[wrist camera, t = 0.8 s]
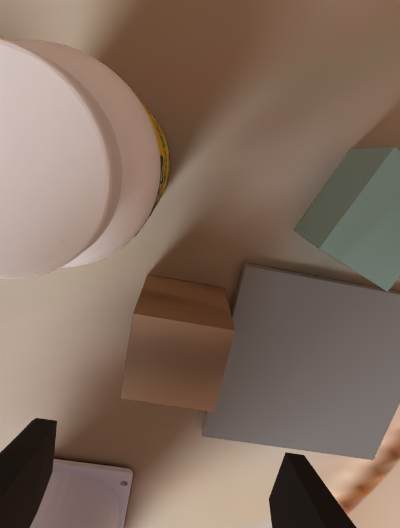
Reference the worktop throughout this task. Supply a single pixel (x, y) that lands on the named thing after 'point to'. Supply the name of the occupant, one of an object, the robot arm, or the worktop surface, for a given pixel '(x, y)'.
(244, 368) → the slate coaster
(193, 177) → the worktop surface
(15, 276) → the pill bottle
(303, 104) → the worktop surface
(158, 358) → the walnut block
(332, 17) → the worktop surface
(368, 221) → the teal block
